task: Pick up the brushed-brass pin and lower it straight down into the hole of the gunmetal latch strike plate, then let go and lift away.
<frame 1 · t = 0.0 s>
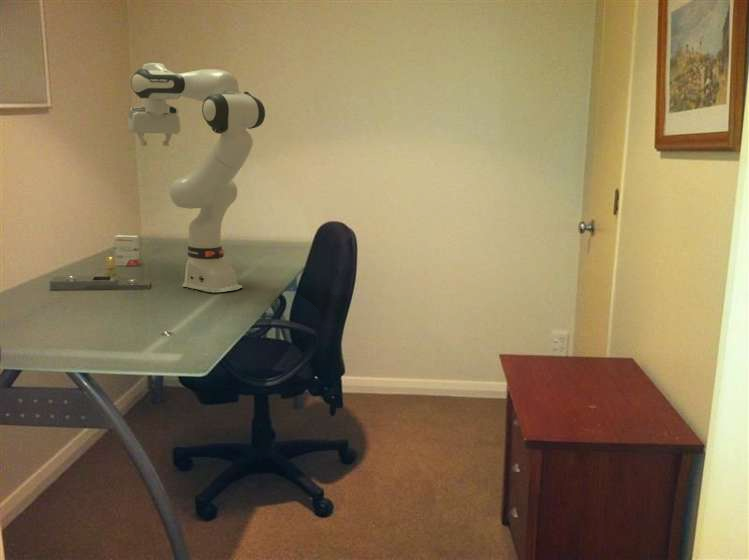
hand: (155, 145, 263), 48 cm above the table, fingers open, 8 cm apart
latch strike plate: (102, 286, 243), on the table
ink box: (127, 265, 280), on the table
brass pin: (111, 278, 256), on the table
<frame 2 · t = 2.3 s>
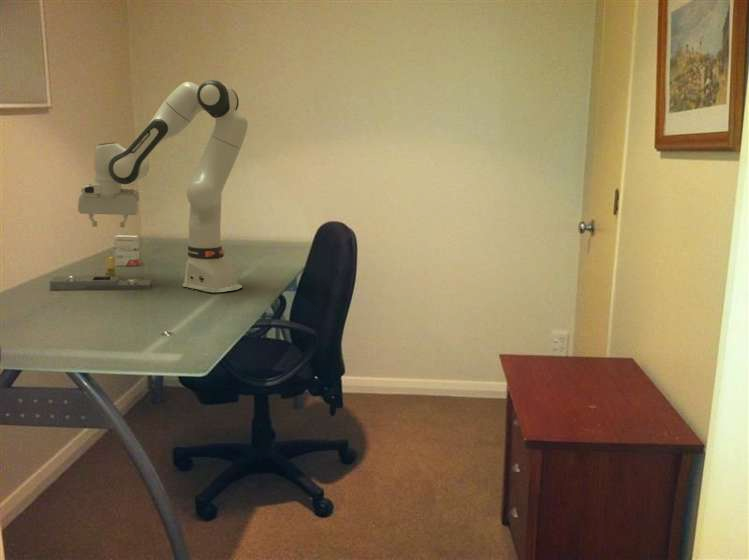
hand: (108, 226, 252), 19 cm above the table, fingers open, 8 cm apart
nothing on the table moved.
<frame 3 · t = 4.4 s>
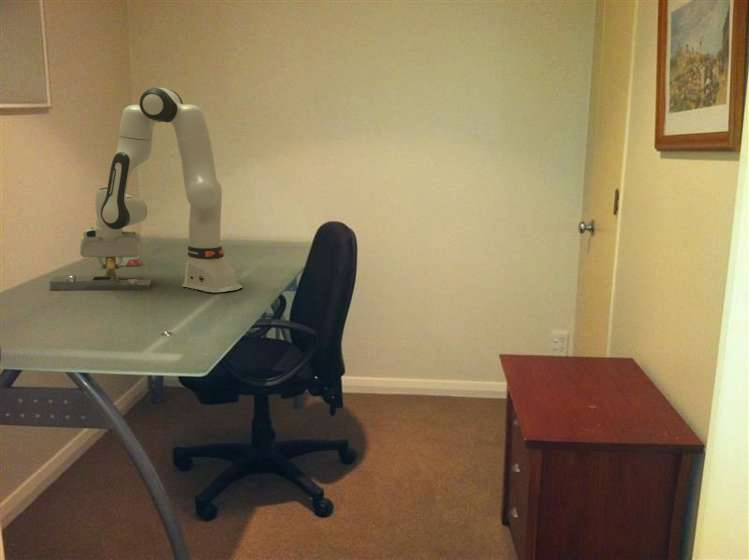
hand: (111, 268, 255), 4 cm above the table, fingers closed on brass pin, 4 cm apart
brass pin: (111, 278, 256), on the table, touching gripper
everything else where it was.
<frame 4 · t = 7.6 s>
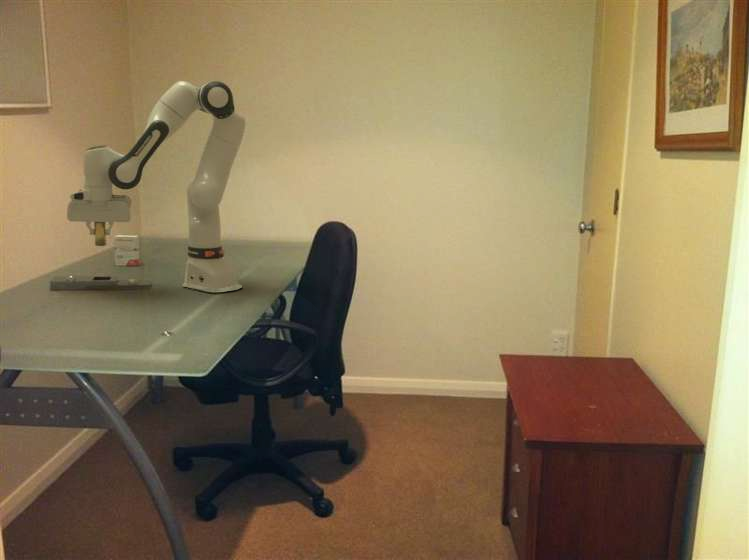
hand: (100, 234, 239), 18 cm above the table, fingers closed on brass pin, 4 cm apart
brass pin: (100, 245, 240), point 15 cm above the table, touching gripper
everything else where it was.
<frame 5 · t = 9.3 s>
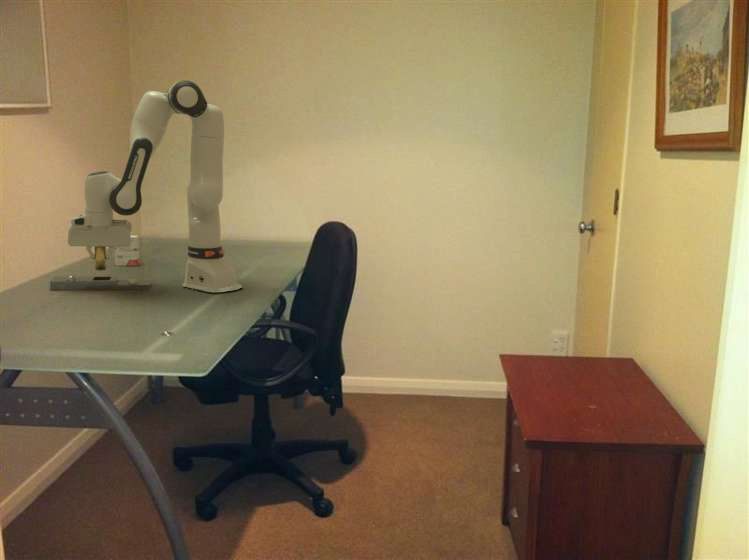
hand: (100, 259, 241), 10 cm above the table, fingers closed on brass pin, 4 cm apart
brass pin: (100, 269, 242), point 6 cm above the table, touching gripper
everything else where it was.
when the fingers open (5 cm above the table, at t = 10.8 s): brass pin drops 1 cm, resting in latch strike plate.
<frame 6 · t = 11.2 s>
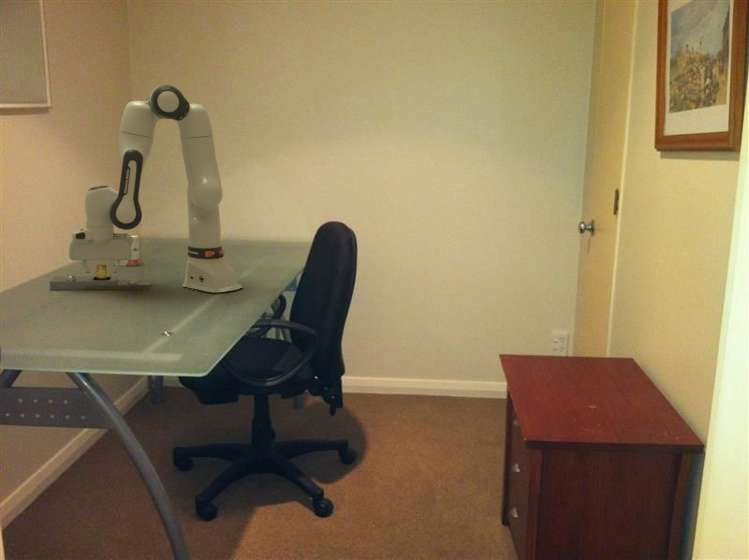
hand: (101, 272, 242), 5 cm above the table, fingers open, 7 cm apart
brass pin: (102, 287, 243), resting in latch strike plate
everything else where it was.
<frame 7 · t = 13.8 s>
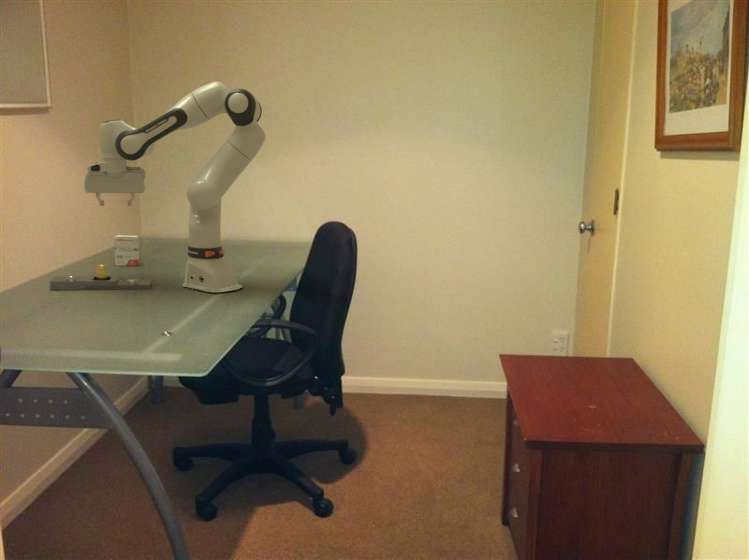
hand: (116, 205, 250), 27 cm above the table, fingers open, 8 cm apart
nothing on the table moved.
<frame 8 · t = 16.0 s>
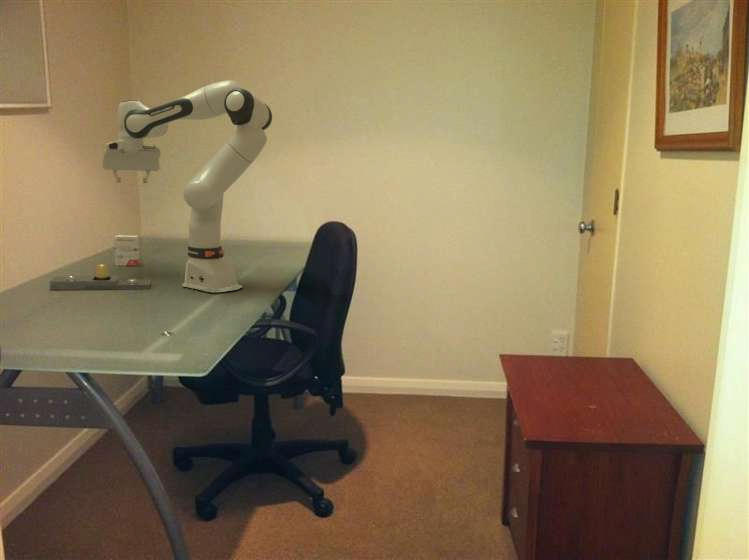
hand: (132, 182, 262), 34 cm above the table, fingers open, 8 cm apart
nothing on the table moved.
at the end: brass pin 0.0 cm off-centre on the latch strike plate, point 0.0 cm above the latch strike plate's base; brass pin tilted 0°; the gripper is holding nothing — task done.
